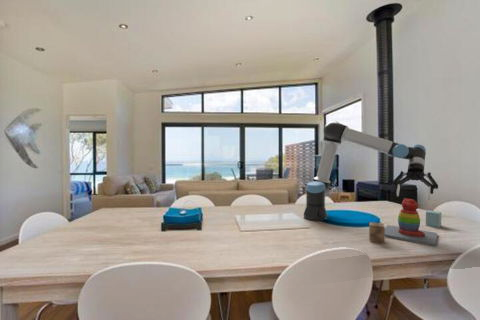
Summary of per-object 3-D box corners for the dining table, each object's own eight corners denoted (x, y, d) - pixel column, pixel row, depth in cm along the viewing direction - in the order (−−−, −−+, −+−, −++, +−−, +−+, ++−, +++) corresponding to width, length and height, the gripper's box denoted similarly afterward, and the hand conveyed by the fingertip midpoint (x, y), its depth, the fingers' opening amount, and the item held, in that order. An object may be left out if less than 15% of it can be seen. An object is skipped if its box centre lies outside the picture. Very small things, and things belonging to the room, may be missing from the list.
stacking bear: (427, 236, 119) (427, 200, 119) (406, 236, 119) (407, 200, 119) (412, 230, 130) (412, 196, 129) (393, 230, 130) (393, 196, 129)
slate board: (380, 235, 124) (380, 233, 124) (387, 227, 139) (387, 224, 139) (435, 246, 110) (435, 243, 110) (436, 235, 125) (436, 232, 125)
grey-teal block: (425, 225, 143) (425, 211, 143) (428, 223, 147) (428, 210, 146) (438, 227, 138) (438, 213, 138) (441, 225, 142) (441, 212, 142)
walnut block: (369, 241, 116) (370, 225, 116) (369, 238, 121) (369, 222, 121) (384, 243, 113) (384, 226, 113) (383, 239, 119) (383, 223, 118)
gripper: (444, 172, 133) (443, 203, 122) (391, 170, 149) (386, 198, 138) (444, 162, 129) (443, 194, 118) (390, 161, 145) (384, 189, 134)
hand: (412, 196), depth 128 cm, fingers open, 13 cm apart
